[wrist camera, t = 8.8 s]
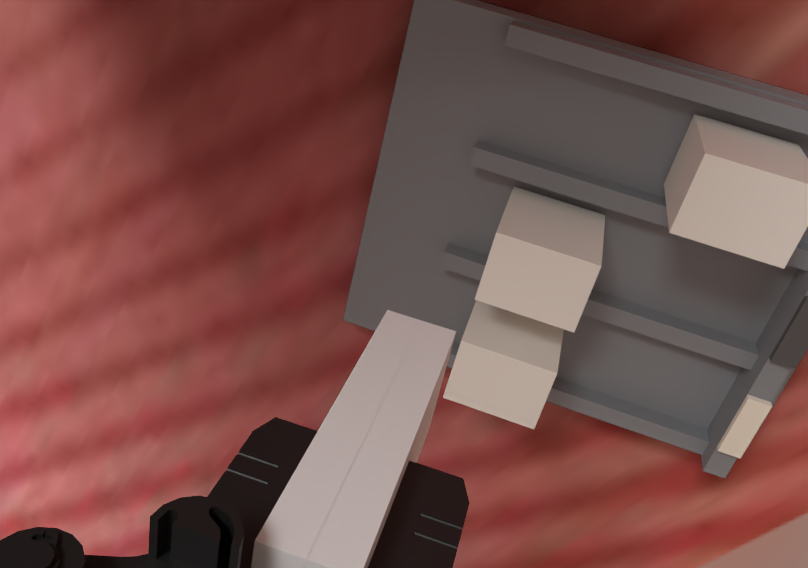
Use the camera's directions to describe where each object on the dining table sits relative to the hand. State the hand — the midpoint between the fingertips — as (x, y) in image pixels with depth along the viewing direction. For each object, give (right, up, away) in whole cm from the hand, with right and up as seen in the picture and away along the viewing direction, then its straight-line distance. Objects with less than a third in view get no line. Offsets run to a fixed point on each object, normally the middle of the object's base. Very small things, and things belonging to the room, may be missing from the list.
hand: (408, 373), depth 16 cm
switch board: (+8, +4, +18) cm, 20 cm away
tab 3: (+13, +7, +14) cm, 20 cm away
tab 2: (+5, 0, +19) cm, 20 cm away
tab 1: (+6, +4, +17) cm, 18 cm away
